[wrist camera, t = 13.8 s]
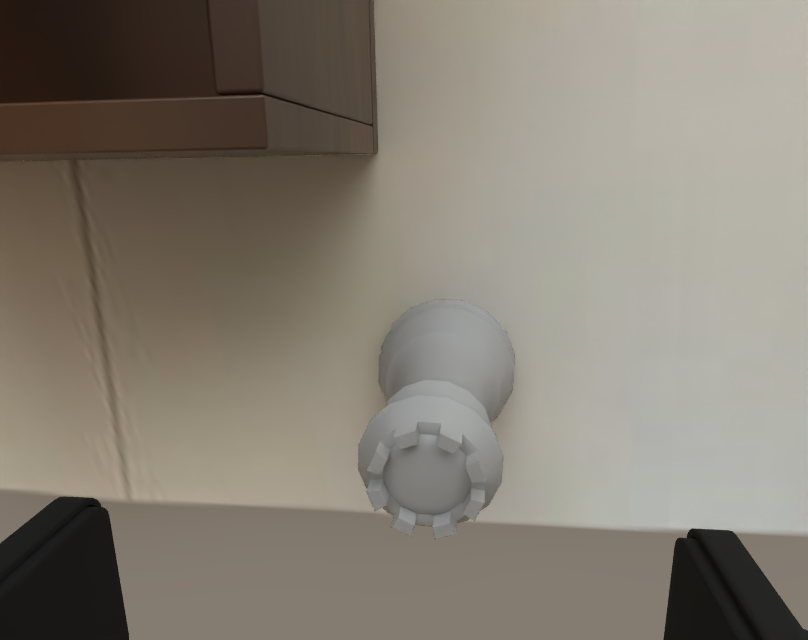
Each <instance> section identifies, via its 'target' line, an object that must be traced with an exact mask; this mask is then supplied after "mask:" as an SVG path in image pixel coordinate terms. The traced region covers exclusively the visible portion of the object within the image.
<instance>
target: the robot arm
mask: <svg viewBox="0 0 808 640" xmlns="http://www.w3.org/2000/svg"><path fill="white" fill-rule="evenodd" d="M0 640H129V633H128V627H127V621H126V615H125V609H124V603H123V596H122V591H121V584H120V578H119V572H118V566H117V560H116V554H115V548H114V542H113V536H112V530H111V524H110V518H109V514H108V511H107V510H106V509H105V508H103V507H101V504H100V503H99V501H98V500H97V499H94V498H83V497H59V498H57V499H55V500H54V501H53V502H51V503H50V504H49V505H48V506H46V507H45V508H44V509H43V510H41V511H40V512H39V513H38V514H36V515H35V516H34V517H33V518H31V519H30V520H29V521H28V522H26V523H25V524H24V525H23V526H21V527H20V528H19V529H18V530H17V531H15V532H14V533H13V534H12V535H10V536H9V537H8V538H7V539H5V540H4V541H3V542H2V543H1V544H0ZM664 640H808V631H807V630H805V629H803V628H802V627H801V626H800V624H799V623H798V621H797V620H796V619H795V617H794V616H793V615H792V613H791V612H790V610H789V609H788V607H787V606H786V604H785V603H784V602H783V600H782V599H781V597H780V596H779V595H778V593H777V592H776V590H775V589H774V588H773V586H772V585H771V583H770V582H769V581H768V579H767V578H766V576H765V575H764V574H763V572H762V571H761V569H760V568H759V567H758V565H757V564H756V562H755V561H754V559H753V558H752V557H751V555H750V554H749V552H748V551H747V550H746V548H745V547H744V545H743V544H742V543H741V541H740V540H739V539H738V537H737V536H736V535H735V534H734V533H733V532H732V531H729V530H709V529H691V530H689V532H688V534H687V538H678V539H677V540H676V543H675V548H674V557H673V565H672V573H671V582H670V590H669V598H668V607H667V615H666V624H665V632H664Z"/></svg>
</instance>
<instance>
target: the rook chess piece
mask: <svg viewBox="0 0 808 640" xmlns="http://www.w3.org/2000/svg"><path fill="white" fill-rule="evenodd" d="M514 364H515V355H514V352H513V349H512V346H511V343H510V340H509V338H508V335H507V332H506V331H505V330H504V329H503V328H502V326H501V325H500V324H499V323H498V322H497V321H496V320H495V319H494V318H493V317H492V316H491V314H490V313H489V312H487V311H485V310H483V309H481V308H478V307H476V306H474V305H472V304H470V303H468V302H466V301H462V300H444V299H435V300H432V301H429V302H426V303H423V304H420V305H418V306H415V307H412V308H410V309H409V310H408V311H407V312H406V313H405V314H403V315H402V316H401V317H400V318H399V319H398V320H397V321H396V322H395V323H393V324H392V326H391V328H390V330H389V332H388V334H387V337H386V339H385V341H384V343H383V345H382V347H381V353H380V356H379V384H380V387H381V389H382V392H383V394H384V397H385V399H386V402H387V404H386V406H385V408H384V409H383V410H382V411H381V412H380V413H378V414H377V415H376V416H375V417H374V418H372V419H371V420H370V421H369V423H368V425H367V427H366V429H365V432H364V434H363V436H362V438H361V440H360V442H359V444H358V470H359V472H360V475H361V477H362V479H363V482H364V484H365V486H366V489H367V491H366V492H367V494H368V497H369V499H370V501H371V504H372V506H373V508H374V510H375V511H377V510H379V509H381V508H384V509H385V510H386V511H387V513H389V514H391V515H394V516H393V520H392V524H391V528H394V529H396V530H398V531H400V532H402V533H404V534H406V535H409V536H412V534H413V530H414V526H415V525H422V526H432V527H433V533H434V538H435V539H438V538H442V537H446V536H450V535H454V534H457V523H460V522H464V521H467V520H469V519H472V520H473V521H475V519H476V517H477V515H478V514H479V512H480V511H481V510H482V509H484V508H485V507H487V506H488V505H489V503H490V502H491V500H492V498H493V496H494V495H495V493H496V491H497V489H498V488H499V486H500V484H501V481H502V468H503V454H502V452H501V449H500V446H499V443H498V441H497V438H496V435H495V433H494V431H493V430H492V426H491V423H490V422H491V421H492V420H494V419H495V418H496V417H498V415H499V414H500V412H501V411H502V409H503V407H504V405H505V403H506V401H507V400H508V398H509V396H510V394H511V392H512V388H513V376H514Z"/></svg>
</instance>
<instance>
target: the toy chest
mask: <svg viewBox="0 0 808 640" xmlns="http://www.w3.org/2000/svg"><path fill="white" fill-rule="evenodd" d="M377 153H378V133H377V98H376V63H375V29H374V0H0V162H10V161H59V160H109V159H158V158H207V157H257V156H306V155H355V154H377Z"/></svg>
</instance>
